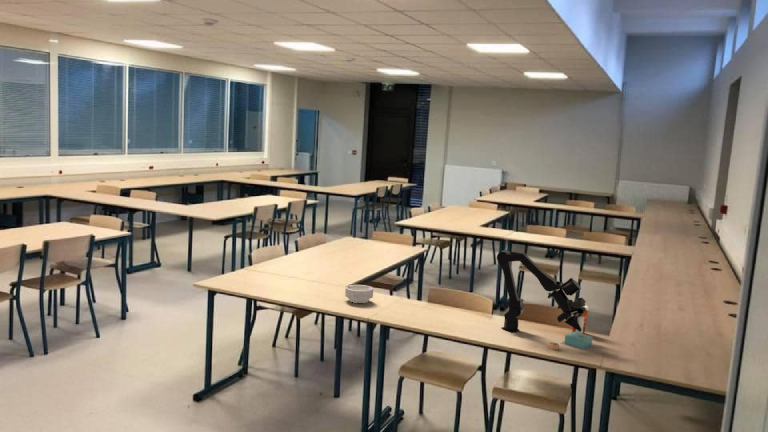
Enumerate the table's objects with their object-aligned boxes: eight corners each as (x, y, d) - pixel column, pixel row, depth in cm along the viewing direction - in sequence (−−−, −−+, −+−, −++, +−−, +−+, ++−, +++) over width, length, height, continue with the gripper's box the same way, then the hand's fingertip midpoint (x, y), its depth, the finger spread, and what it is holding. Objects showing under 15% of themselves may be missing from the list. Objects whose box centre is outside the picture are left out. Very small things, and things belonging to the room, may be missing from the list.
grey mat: (559, 343, 284) (559, 343, 284) (572, 339, 293) (572, 338, 293) (584, 351, 276) (584, 350, 276) (596, 346, 285) (596, 345, 285)
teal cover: (564, 343, 284) (567, 316, 283) (573, 339, 291) (576, 313, 289) (582, 348, 278) (585, 321, 277) (591, 345, 285) (594, 317, 283)
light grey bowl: (340, 298, 339) (341, 284, 338) (365, 297, 345) (366, 283, 344) (350, 306, 325) (351, 291, 324) (377, 304, 332) (378, 290, 331)
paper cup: (575, 336, 299) (578, 307, 297) (567, 331, 306) (569, 303, 304) (589, 335, 301) (592, 307, 299) (580, 330, 308) (583, 303, 307)
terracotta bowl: (546, 348, 277) (546, 342, 277) (553, 347, 279) (553, 341, 279) (553, 351, 273) (553, 345, 273) (560, 350, 276) (561, 344, 275)
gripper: (565, 294, 278) (586, 324, 271) (584, 289, 291) (604, 318, 285) (548, 307, 284) (567, 337, 278) (567, 302, 297) (586, 330, 291)
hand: (582, 330), depth 283 cm, fingers closed on teal cover, 3 cm apart
